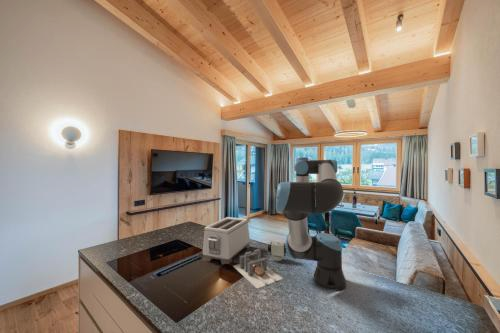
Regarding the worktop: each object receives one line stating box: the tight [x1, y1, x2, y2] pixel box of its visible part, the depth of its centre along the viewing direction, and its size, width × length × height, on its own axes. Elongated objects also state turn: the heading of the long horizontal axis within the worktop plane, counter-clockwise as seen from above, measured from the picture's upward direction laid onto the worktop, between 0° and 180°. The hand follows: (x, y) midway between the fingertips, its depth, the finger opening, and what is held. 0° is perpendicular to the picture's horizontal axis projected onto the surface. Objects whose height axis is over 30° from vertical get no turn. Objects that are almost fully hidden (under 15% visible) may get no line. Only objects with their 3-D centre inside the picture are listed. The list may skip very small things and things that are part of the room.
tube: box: [247, 257, 265, 277], centre depth 116 cm, size 18×4×4 cm, turn 31°
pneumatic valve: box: [267, 241, 287, 262], centre depth 127 cm, size 6×12×12 cm, turn 78°
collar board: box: [232, 248, 284, 289], centre depth 113 cm, size 26×16×11 cm, turn 31°
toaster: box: [202, 216, 251, 265], centre depth 139 cm, size 19×34×21 cm, turn 156°
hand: (303, 222), depth 125 cm, fingers closed
